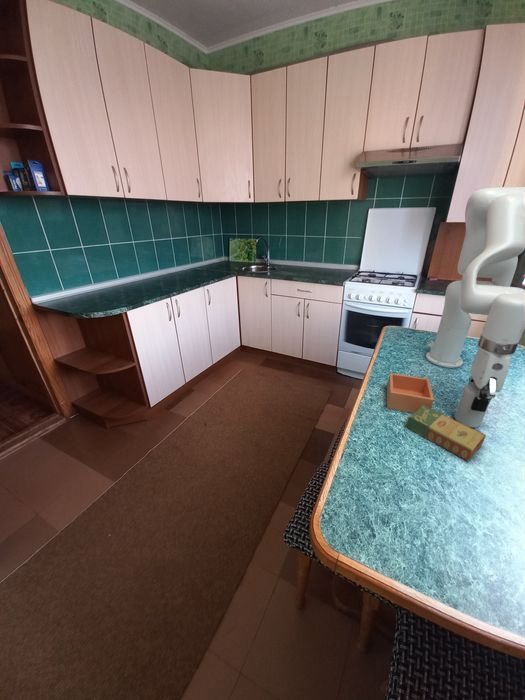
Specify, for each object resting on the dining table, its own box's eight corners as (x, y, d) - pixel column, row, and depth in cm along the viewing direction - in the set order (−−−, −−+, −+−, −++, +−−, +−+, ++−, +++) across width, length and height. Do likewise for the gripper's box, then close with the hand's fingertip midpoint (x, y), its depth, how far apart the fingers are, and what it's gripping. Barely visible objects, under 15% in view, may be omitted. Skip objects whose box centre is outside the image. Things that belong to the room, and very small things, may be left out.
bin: (386, 387, 99) (389, 372, 96) (424, 394, 95) (428, 378, 93) (387, 408, 89) (390, 392, 87) (429, 416, 86) (434, 399, 83)
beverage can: (483, 430, 80) (499, 395, 74) (458, 427, 81) (471, 392, 76) (473, 415, 86) (487, 381, 80) (450, 413, 87) (462, 379, 81)
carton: (468, 462, 70) (473, 450, 69) (405, 427, 82) (408, 415, 80) (481, 446, 75) (486, 434, 73) (419, 414, 86) (423, 403, 84)
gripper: (529, 363, 64) (500, 426, 72) (503, 333, 78) (481, 388, 86) (489, 358, 66) (465, 419, 74) (470, 329, 80) (452, 383, 89)
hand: (474, 402), depth 80 cm, fingers closed on beverage can, 6 cm apart
